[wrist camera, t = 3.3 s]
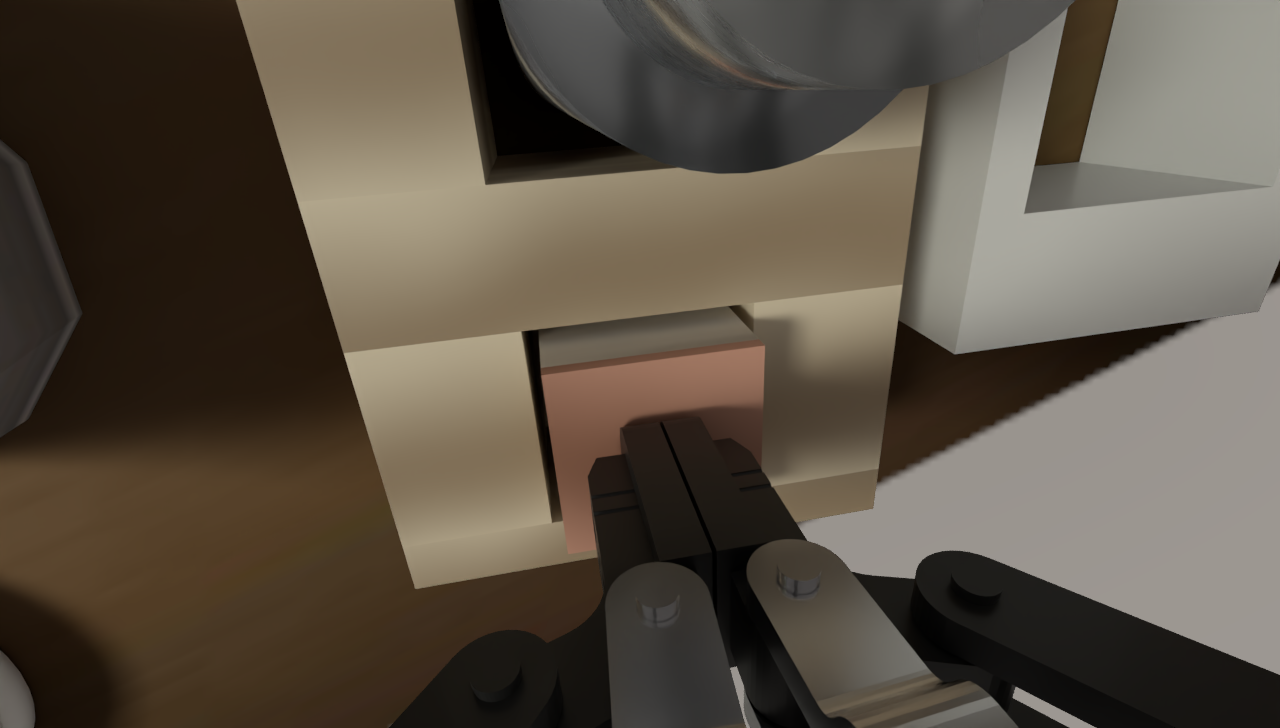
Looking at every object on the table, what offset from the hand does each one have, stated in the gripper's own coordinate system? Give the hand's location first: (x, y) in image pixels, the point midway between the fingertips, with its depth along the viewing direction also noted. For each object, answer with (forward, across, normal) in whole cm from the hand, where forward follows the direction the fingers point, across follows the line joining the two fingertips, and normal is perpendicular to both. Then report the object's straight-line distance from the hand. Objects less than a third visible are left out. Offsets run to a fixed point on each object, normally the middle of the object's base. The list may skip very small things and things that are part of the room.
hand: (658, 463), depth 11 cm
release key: (+4, 0, 0) cm, 5 cm away
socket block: (+6, 0, -4) cm, 8 cm away
